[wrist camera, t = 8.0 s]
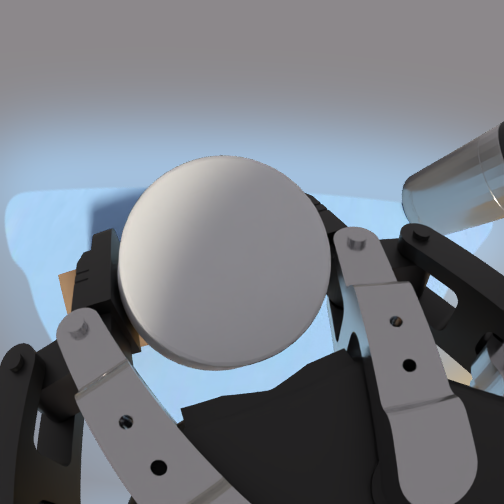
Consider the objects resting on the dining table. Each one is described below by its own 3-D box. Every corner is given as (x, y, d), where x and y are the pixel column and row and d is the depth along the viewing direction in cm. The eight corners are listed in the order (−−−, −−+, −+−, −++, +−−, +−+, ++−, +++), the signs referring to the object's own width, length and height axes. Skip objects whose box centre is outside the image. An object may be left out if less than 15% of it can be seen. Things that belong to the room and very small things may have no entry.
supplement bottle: (164, 220, 15) (130, 101, 5) (268, 243, 16) (372, 164, 6) (141, 327, 14) (58, 367, 4) (249, 348, 15) (337, 415, 5)
